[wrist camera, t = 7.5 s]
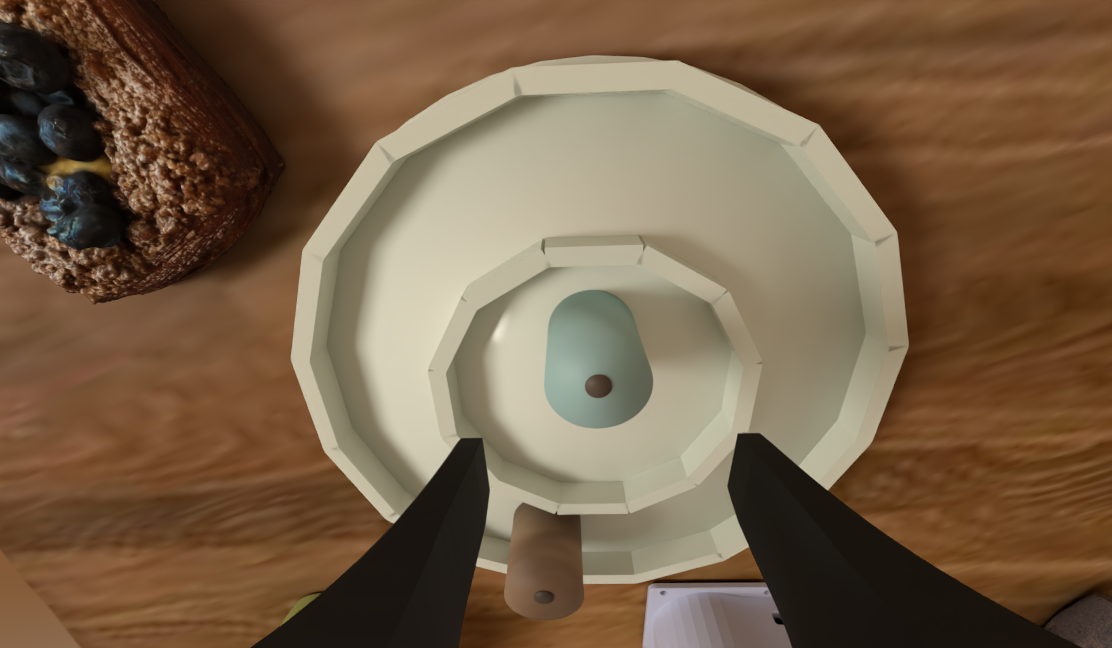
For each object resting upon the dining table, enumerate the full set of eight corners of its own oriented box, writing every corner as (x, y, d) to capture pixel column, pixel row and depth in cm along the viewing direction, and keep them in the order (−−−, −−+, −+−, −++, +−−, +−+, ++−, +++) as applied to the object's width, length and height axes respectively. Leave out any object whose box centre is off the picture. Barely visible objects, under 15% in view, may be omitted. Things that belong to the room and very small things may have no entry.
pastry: (179, 308, 21) (49, 373, 16) (-96, 81, 17) (-400, 66, 11) (326, 170, 18) (227, 194, 13) (38, -148, 14) (-291, -312, 8)
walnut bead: (580, 495, 24) (584, 572, 20) (580, 542, 26) (583, 621, 22) (511, 495, 24) (500, 572, 20) (515, 542, 26) (507, 621, 22)
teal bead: (636, 288, 19) (657, 337, 14) (632, 365, 20) (650, 428, 16) (546, 290, 19) (541, 340, 15) (549, 367, 20) (546, 430, 16)
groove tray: (972, 42, 15) (1042, 29, 13) (802, 547, 27) (823, 586, 25) (227, 74, 16) (172, 67, 14) (383, 551, 28) (367, 589, 26)
